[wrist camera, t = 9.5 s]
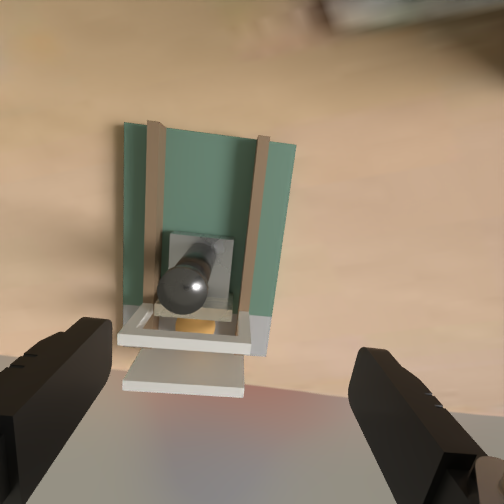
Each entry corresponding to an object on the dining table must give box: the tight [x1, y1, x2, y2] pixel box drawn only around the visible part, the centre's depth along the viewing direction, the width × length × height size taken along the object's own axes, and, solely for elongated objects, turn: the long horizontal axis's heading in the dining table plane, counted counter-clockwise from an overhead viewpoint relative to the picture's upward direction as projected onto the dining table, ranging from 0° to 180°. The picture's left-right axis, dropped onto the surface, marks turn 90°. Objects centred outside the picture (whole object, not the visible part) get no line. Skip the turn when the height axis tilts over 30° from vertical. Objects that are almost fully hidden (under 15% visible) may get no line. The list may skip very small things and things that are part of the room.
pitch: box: [117, 120, 296, 398], centre depth 25 cm, size 23×16×10 cm
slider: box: [154, 231, 234, 322], centre depth 23 cm, size 7×7×10 cm
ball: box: [175, 318, 215, 334], centre depth 28 cm, size 4×4×4 cm
